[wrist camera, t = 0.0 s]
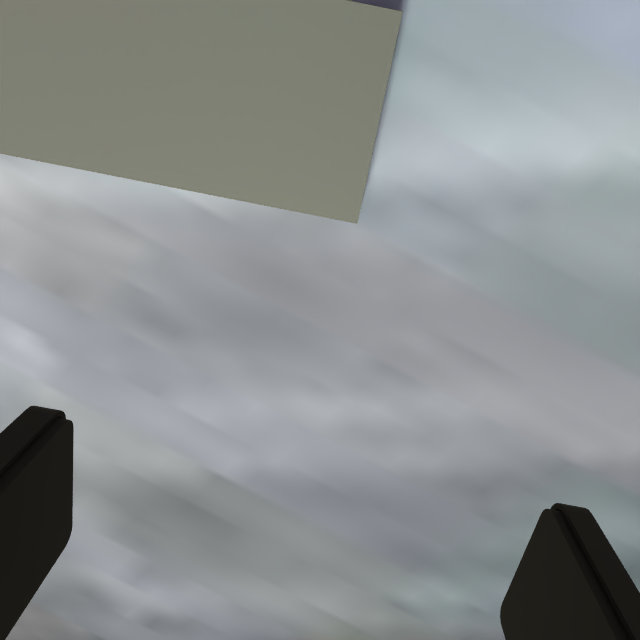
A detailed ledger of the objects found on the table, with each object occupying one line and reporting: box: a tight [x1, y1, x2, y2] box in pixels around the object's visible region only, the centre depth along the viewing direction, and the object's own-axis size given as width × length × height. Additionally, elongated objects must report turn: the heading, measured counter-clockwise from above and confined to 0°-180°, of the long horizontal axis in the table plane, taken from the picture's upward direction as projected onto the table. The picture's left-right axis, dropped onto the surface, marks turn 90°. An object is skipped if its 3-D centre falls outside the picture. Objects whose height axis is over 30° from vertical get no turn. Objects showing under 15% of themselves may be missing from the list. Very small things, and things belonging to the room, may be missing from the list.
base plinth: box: [0, 0, 402, 223], centre depth 35 cm, size 13×27×3 cm, turn 79°
